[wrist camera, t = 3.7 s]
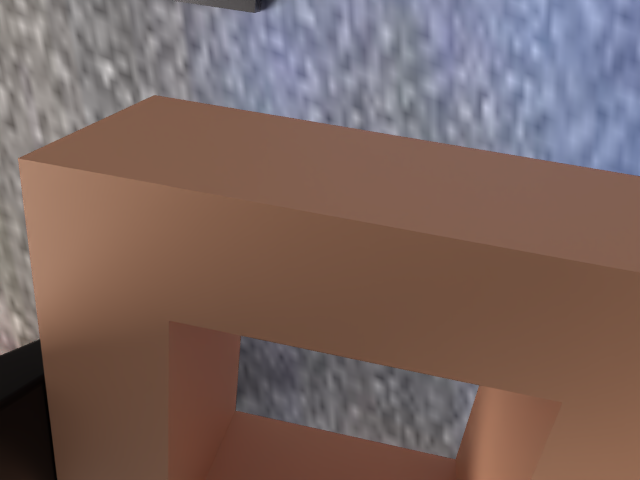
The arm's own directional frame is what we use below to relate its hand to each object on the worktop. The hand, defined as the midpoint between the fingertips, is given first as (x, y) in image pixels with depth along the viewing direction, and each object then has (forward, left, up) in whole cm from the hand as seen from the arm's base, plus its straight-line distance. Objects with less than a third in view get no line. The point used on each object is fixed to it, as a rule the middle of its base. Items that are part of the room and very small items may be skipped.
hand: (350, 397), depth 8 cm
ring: (0, 0, -1) cm, 1 cm away
